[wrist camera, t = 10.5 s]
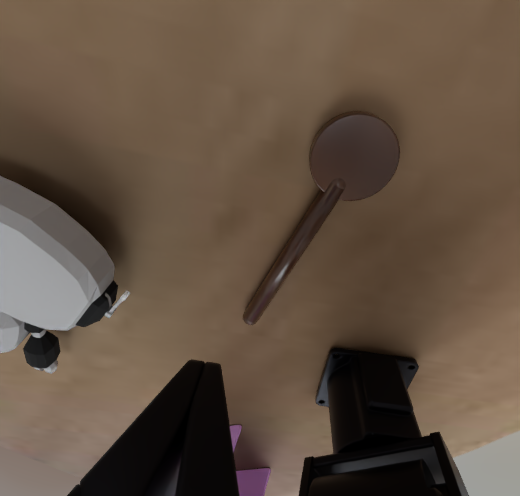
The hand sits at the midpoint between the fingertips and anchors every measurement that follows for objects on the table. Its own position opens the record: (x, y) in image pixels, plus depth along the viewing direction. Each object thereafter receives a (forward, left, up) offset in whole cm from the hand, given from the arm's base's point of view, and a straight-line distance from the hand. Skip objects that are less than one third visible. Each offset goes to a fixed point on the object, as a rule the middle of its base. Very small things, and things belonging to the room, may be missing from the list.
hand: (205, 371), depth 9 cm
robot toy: (-7, +15, -12) cm, 21 cm away
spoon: (-2, -3, -12) cm, 13 cm away
